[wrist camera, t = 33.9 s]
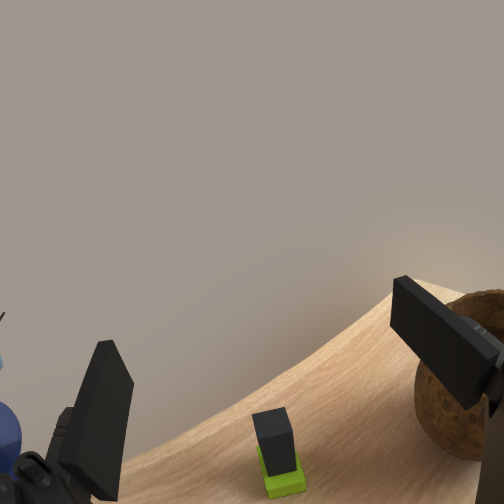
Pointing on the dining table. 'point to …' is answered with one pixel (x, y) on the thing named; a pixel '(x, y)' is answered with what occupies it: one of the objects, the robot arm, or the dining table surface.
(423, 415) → the bowl
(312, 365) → the dining table surface
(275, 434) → the two-tone block stack
